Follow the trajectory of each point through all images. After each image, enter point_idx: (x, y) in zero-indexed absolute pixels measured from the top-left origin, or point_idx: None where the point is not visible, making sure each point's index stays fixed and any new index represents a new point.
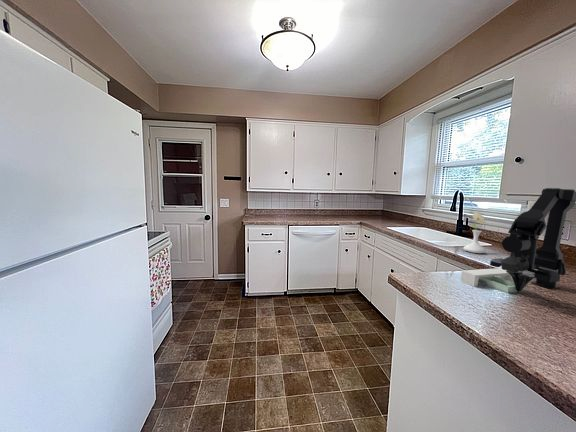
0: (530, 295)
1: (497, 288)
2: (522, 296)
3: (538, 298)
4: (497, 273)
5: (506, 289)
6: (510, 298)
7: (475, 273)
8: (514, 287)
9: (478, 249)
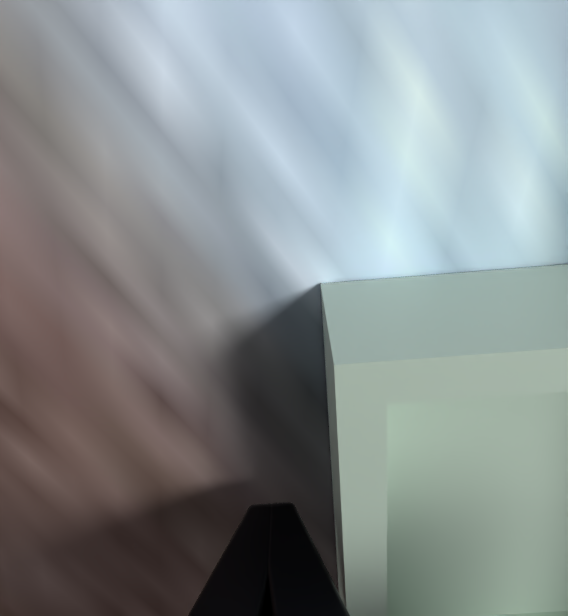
0: (191, 595)
1: (559, 274)
2: (152, 434)
3: (76, 596)
4: None
5: (364, 318)
6: (23, 6)
7: None
8: (342, 543)
9: None
